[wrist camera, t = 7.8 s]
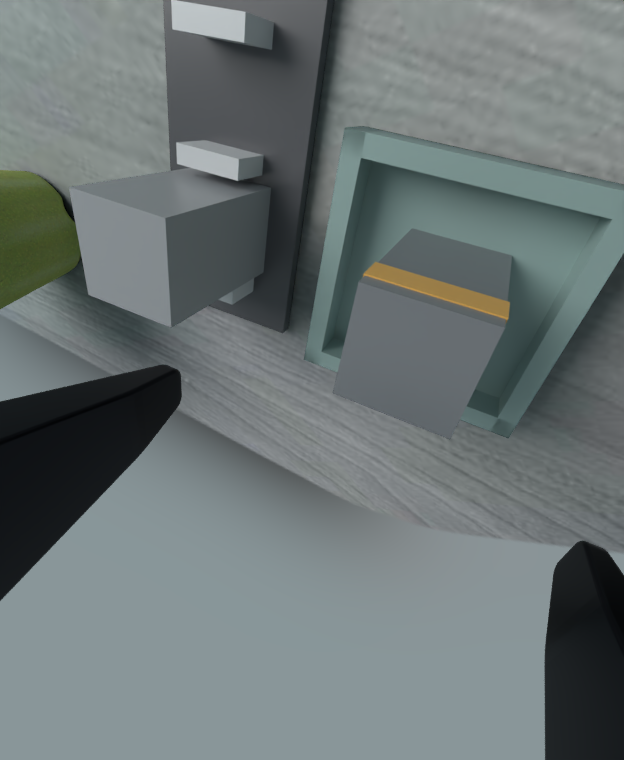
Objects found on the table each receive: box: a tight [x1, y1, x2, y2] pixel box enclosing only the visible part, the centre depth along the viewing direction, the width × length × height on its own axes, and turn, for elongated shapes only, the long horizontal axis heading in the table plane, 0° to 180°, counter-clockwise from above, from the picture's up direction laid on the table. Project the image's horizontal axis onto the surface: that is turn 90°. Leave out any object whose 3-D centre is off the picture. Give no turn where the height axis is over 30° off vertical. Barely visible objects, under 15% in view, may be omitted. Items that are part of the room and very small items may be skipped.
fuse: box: [333, 228, 512, 439], centre depth 15 cm, size 4×4×7 cm
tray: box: [304, 126, 624, 438], centre depth 17 cm, size 10×10×2 cm
